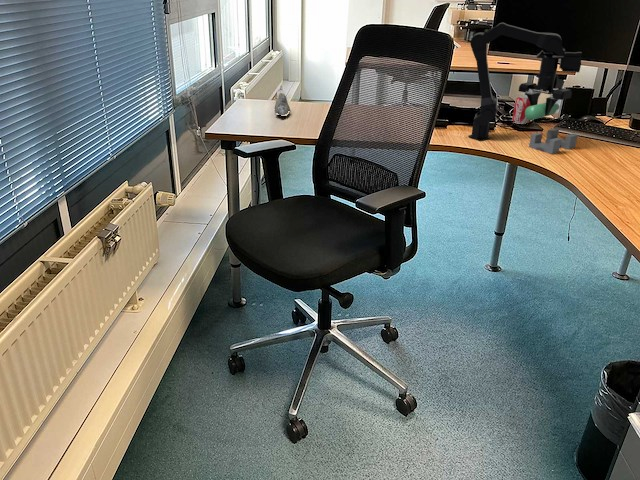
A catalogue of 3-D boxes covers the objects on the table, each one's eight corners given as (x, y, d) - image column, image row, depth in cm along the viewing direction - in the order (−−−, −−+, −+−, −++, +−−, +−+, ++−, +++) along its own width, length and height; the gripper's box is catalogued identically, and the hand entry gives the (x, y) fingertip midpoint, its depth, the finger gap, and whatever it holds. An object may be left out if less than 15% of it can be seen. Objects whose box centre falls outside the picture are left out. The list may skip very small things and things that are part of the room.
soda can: (529, 127, 225) (535, 98, 219) (512, 126, 226) (517, 97, 220) (527, 122, 231) (533, 94, 225) (510, 121, 232) (515, 93, 226)
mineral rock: (283, 120, 231) (282, 97, 227) (262, 117, 236) (261, 94, 231) (298, 114, 241) (297, 91, 237) (278, 111, 246) (277, 89, 241)
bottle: (535, 121, 195) (537, 107, 193) (524, 118, 199) (526, 105, 196) (560, 114, 203) (563, 101, 200) (549, 112, 206) (551, 99, 204)
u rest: (551, 154, 194) (554, 141, 191) (528, 146, 201) (531, 134, 199) (574, 147, 200) (577, 134, 198) (551, 140, 208) (554, 128, 205)
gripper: (584, 72, 189) (575, 115, 196) (539, 65, 203) (532, 106, 210) (566, 75, 184) (557, 120, 191) (520, 68, 197) (514, 110, 205)
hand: (540, 114), depth 199 cm, fingers closed on bottle, 5 cm apart
